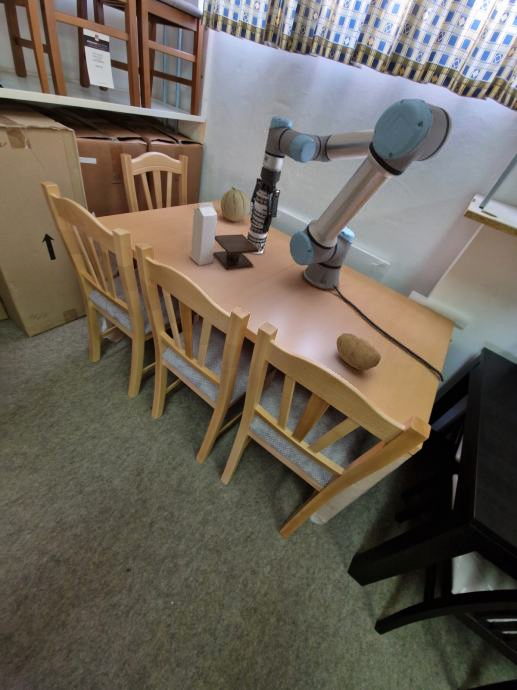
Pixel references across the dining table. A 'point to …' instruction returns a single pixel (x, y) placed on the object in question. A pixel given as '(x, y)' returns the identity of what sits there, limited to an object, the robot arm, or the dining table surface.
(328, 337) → the dining table surface
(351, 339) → the potato
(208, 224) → the milk
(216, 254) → the stand
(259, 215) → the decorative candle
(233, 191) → the cantaloupe
